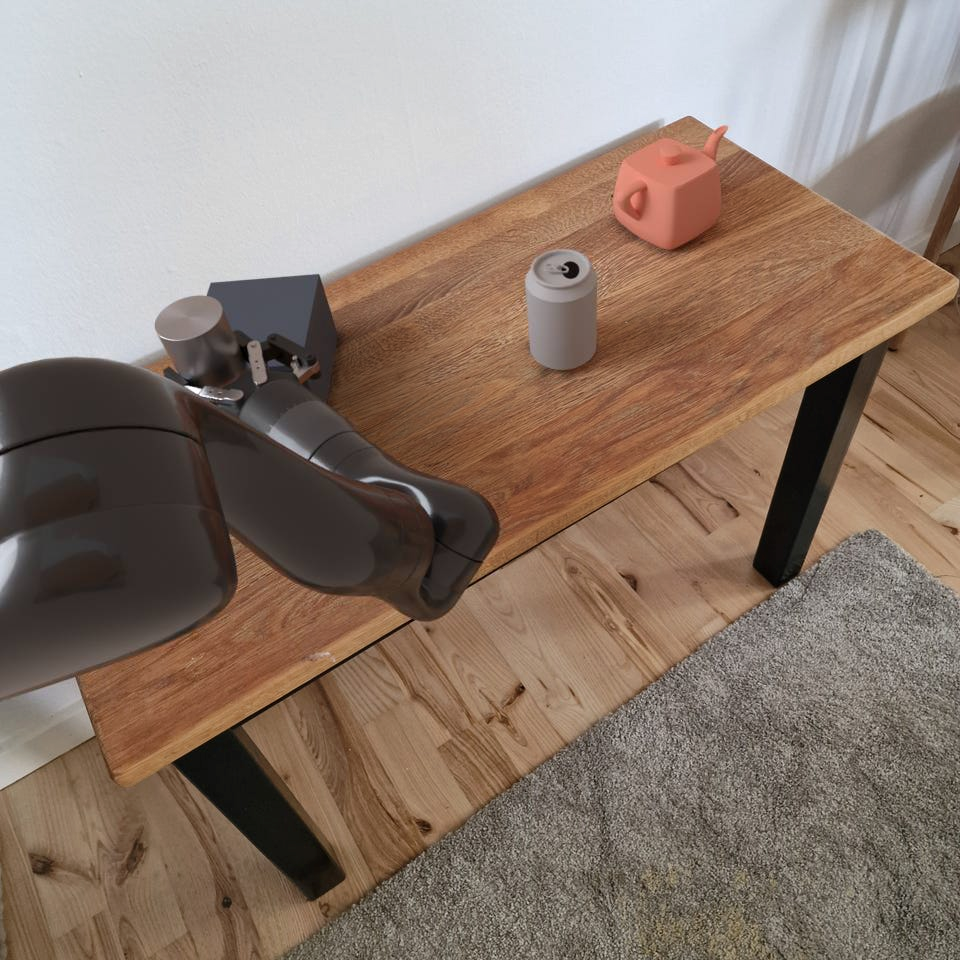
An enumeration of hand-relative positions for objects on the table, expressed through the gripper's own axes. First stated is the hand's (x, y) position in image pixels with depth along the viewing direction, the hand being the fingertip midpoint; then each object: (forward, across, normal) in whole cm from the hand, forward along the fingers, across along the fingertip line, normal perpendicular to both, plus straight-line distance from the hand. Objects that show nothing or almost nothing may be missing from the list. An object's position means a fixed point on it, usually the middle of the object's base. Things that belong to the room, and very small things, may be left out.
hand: (199, 356), depth 78 cm
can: (-16, -33, +15) cm, 39 cm away
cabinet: (+7, -9, +14) cm, 18 cm away
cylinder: (-2, 0, +11) cm, 11 cm away
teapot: (-10, -60, +15) cm, 63 cm away
